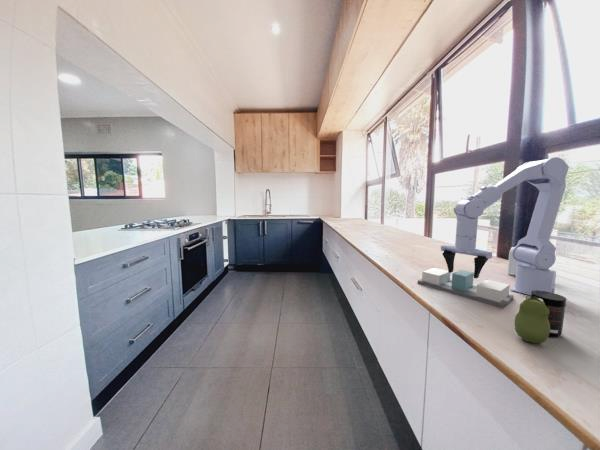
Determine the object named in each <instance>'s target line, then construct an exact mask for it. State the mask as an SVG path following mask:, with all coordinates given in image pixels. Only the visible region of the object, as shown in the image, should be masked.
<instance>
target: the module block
mask: <svg viewBox="0 0 600 450" xmlns="http://www.w3.org/2000/svg"><path fill="white" fill-rule="evenodd" d="M451 273H452V274H451V280H452V285H451V288H455V289H459V290H462V291H466V290H467V289H469V288H471V287H473V285H474V272H472V271H467V270H463V269H459V270H457V271H455V272H451Z"/></svg>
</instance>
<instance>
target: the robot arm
mask: <svg viewBox="0 0 600 450" xmlns="http://www.w3.org/2000/svg"><path fill="white" fill-rule="evenodd" d="M569 168H570V166H569V164H567V162H566V161H565V160H564V159H563V158H561V157H557V156H555V157H550V158H546V159H541V160H533V161H532V160H531V161H526V162H524V163H523V164H522V165H519V166H518V167H516V169H515V170H514V171H512V172H511V173H510V174H508V175H507V176H505V177H504V178H502V179H501V180H500V181H498V182H497V183H496V184H494V185H486V186H483V185H482V186H481V187H479V189H480V190H478V191H477V192H475V194H473V195H469V196H467V199H466V200H460V201H458V202H457V203H456V205H455V206H454V208H453V212H454V214H455V215H456V228H455V229H456V230H455V243H454V245H445V244H442V245H440V252H442V256H443V258H444V260H445V263H446V267H447V271H448V272H450V273H454V266H455V263H454V262H455V257H456V254H460V255H466V256H467V255H468V256H472V257H473V256H475V257H474V258H473V259H474V270H473V271H474V272H473V273H474V276H473V279H478V278H479V277H480V274H481V272H482V269H483V268H484V266H485V264H486V263H487V262H488V260H489V259H492V257H493V252H492V251H488V250H487V251H486V250H483V249H478V248H476V247H477V235H478V234H477V233H478V225H479V223H478V220H479V217H481V216H482V215H483V214H484V211H485V210H486V209H487V208H489V207H490V206H492V205H493V204H495V203H497V202H498V201H500V200H501V199H502V196H503V195H502V194H503V193H505V192H507V191H508V190H511V189H512V188H514V187H516V186H518V185H519V184H521V183H523V182H527V183H529V184H531V185H532V186H533V187H536V188H537V190H538V191H539V192H538V196H537V199H536V202H535V205H534V209H533V212H532V216H531V219H530V222H529V226H528V229H527V233H526V235H525V236H524V237H522V238H521V239H519V240H518V241H517V244H516V246H514V247H515V248H514V249H513V251H512V256H513V258H514V259H515V260H516V263H517V269H516V276H515V279H514V280H515V281H514V285H513V286H512V287H511V288H509V291H512V292H517V293H520V294H524V295H525V294H526V295H527V296H529V295H530V296H531V291H535V290H537V291H546V292H551V293H555V290H556V288H555V284H556V277H557V276H556V275H557V271H556V270H554V269H550V268H551V267H552V266H554V264H555V263H556V250H557V247H556V246H555V245H554V244H553V243H552V242H551V241H550V238H551V235H552V232H553V229H554V226H555V222H556V219H557V217H558V216H557V215H558V213H559V210H560V206H561V203H562V200H563V197H564V193H565V189H566V186H567V184H566V183H567V182H566V178H567V175H568V172H569Z"/></svg>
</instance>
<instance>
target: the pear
mask: <svg viewBox="0 0 600 450" xmlns="http://www.w3.org/2000/svg"><path fill="white" fill-rule="evenodd" d="M534 297H535V298H534ZM534 297H532V298H531V297H530V296H529V295H527V296H526V297H525V299H524V300H523V301H522V302H521V303H520V304H519V309H518V311H517V313H516V315H515V317H514V329H515V332H516V333H517V335H518V337H520V338H521V340H524V341H526V342H529V343H531V344H542V343H544V342H546V341H547V340H548V338H549V334H550V323H549V321H548V314H549V309H548V308H547V307H546V305H545V303H544V300H542V299H541V298H537V297H536V296H534Z"/></svg>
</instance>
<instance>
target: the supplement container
mask: <svg viewBox="0 0 600 450" xmlns="http://www.w3.org/2000/svg"><path fill="white" fill-rule="evenodd" d="M534 296H536V297H537V298H541V299H542V300H544V303H545V305H546V307H547V308H548V309H549V314H548V321H549V323H550V334H549V337H550V338H558V337H561V336H562V334H563V328H564V320H565V319H564V318H565V312H566V306H567V300H568V299H567V298H566V297H565V296H563V295H560V294H558V293H555V292H554V293H551V292H546V291H537V290H535V291H531V295H530V296H529V297H531V298H532V297H534ZM534 298H535V297H534ZM549 337H548V338H549Z"/></svg>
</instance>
